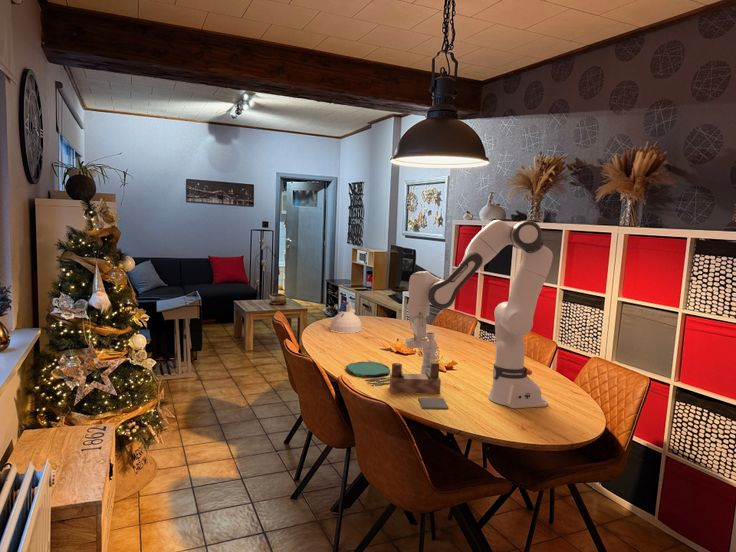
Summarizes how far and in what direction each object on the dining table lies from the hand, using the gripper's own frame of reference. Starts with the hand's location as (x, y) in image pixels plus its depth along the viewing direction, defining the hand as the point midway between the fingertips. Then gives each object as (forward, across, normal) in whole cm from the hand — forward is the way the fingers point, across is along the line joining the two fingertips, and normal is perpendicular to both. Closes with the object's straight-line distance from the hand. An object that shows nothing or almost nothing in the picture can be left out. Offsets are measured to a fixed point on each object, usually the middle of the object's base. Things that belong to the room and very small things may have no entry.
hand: (417, 343), depth 206 cm
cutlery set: (+20, +21, +17) cm, 33 cm away
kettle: (+20, +109, +27) cm, 114 cm away
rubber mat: (+20, -15, -5) cm, 25 cm away
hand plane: (+20, 0, 0) cm, 20 cm away
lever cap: (+1, 0, 0) cm, 1 cm away
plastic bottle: (+20, +19, -9) cm, 29 cm away
